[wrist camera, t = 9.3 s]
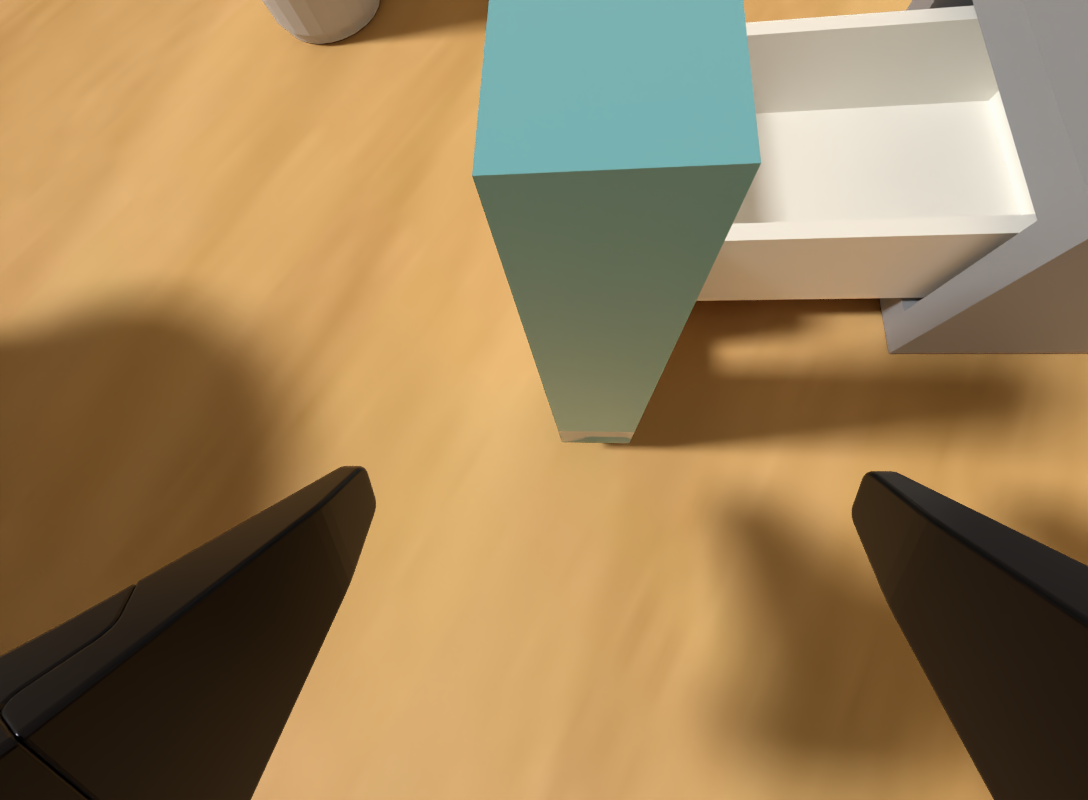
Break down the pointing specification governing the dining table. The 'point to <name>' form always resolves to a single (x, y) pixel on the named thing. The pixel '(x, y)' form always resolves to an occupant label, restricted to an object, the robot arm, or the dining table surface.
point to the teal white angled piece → (725, 173)
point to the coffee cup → (322, 17)
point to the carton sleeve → (1055, 189)
